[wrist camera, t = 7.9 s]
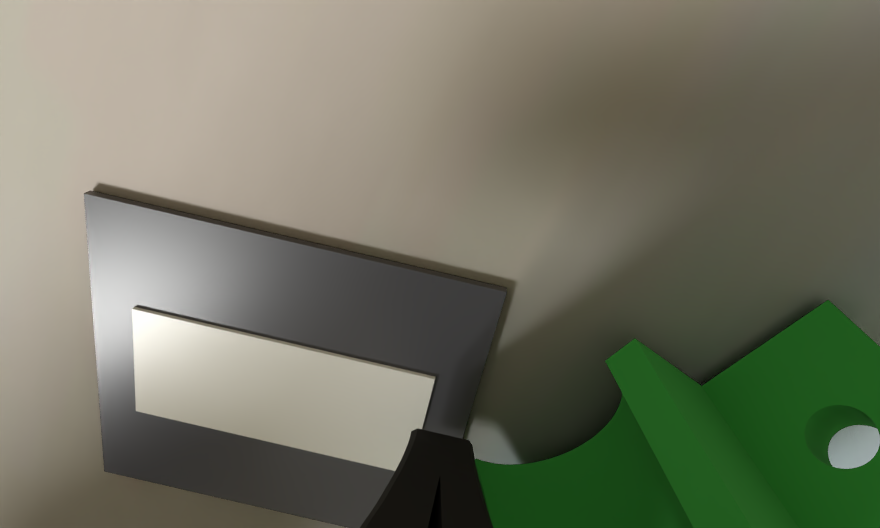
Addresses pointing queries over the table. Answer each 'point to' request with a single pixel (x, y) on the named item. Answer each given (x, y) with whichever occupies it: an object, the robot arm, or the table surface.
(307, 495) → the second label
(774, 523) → the pipe clamp
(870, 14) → the table surface
